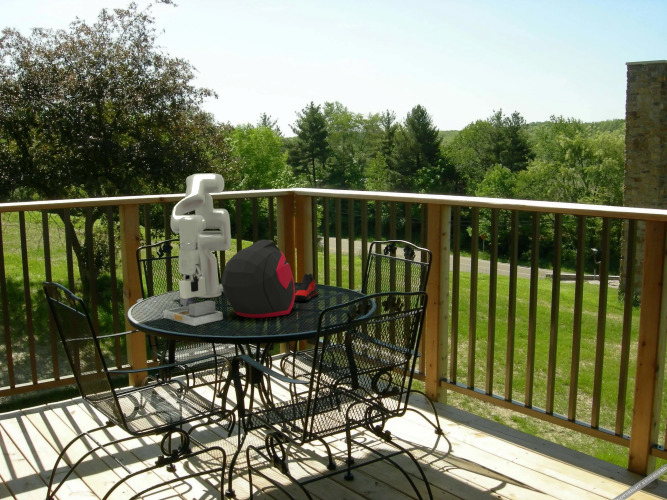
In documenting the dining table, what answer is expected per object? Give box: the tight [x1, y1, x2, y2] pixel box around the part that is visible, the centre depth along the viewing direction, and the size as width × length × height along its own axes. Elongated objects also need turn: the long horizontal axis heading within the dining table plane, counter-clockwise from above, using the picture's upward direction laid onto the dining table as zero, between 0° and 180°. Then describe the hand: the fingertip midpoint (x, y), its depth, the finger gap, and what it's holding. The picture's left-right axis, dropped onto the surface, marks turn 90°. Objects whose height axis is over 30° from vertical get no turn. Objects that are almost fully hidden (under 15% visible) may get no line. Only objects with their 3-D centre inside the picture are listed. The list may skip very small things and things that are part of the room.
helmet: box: [220, 239, 296, 319], centre depth 277 cm, size 26×32×30 cm
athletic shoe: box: [294, 273, 319, 302], centre depth 305 cm, size 8×20×12 cm, turn 163°
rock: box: [178, 289, 196, 307], centre depth 295 cm, size 10×6×10 cm, turn 48°
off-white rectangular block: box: [178, 277, 206, 299], centre depth 268 cm, size 4×10×7 cm, turn 137°
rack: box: [162, 300, 224, 327], centre depth 269 cm, size 22×14×8 cm, turn 47°
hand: (191, 290), depth 268 cm, fingers closed on off-white rectangular block, 4 cm apart
